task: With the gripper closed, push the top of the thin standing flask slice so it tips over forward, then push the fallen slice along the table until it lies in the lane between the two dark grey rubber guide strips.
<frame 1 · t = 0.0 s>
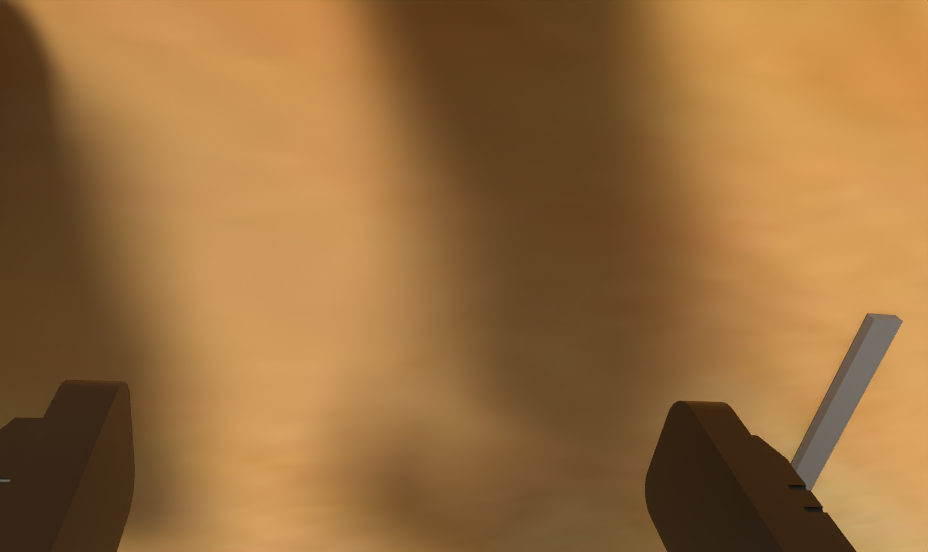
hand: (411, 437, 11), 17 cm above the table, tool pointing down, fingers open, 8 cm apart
guide strip 2: (814, 443, 38), on the table
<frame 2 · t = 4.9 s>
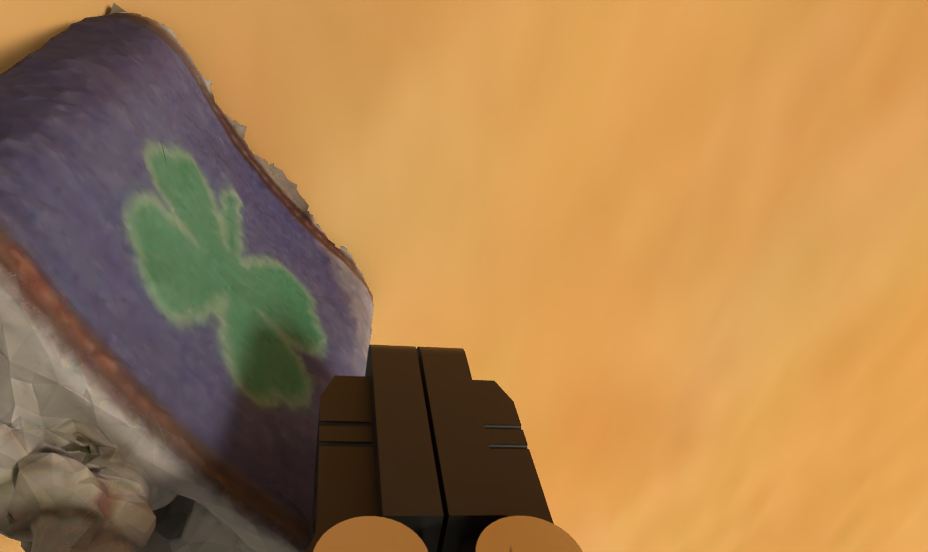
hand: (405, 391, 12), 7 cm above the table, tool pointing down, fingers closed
flask: (235, 189, 17), on the table
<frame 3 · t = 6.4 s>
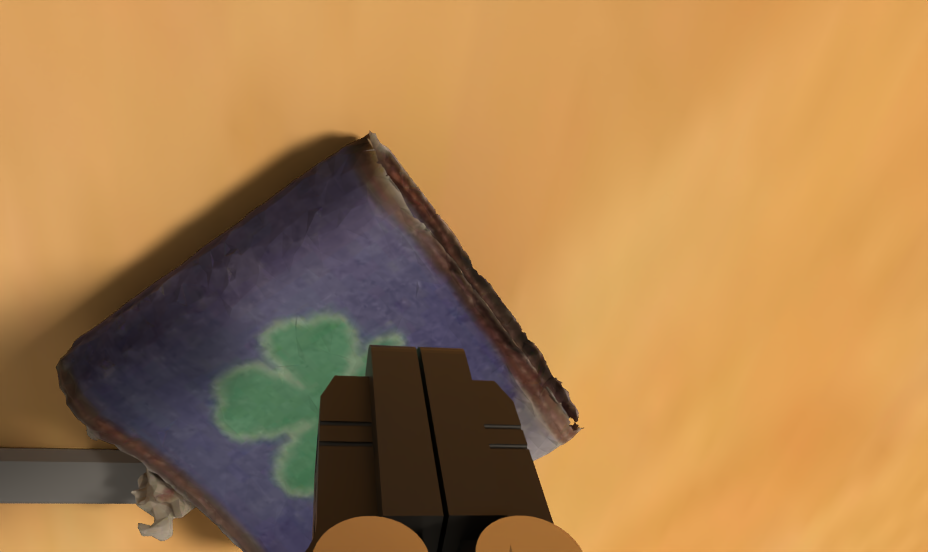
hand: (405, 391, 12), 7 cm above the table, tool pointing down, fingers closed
flask: (491, 281, 18), point 2 cm above the table, touching guide strip 1
guide strip 1: (91, 470, 20), on the table
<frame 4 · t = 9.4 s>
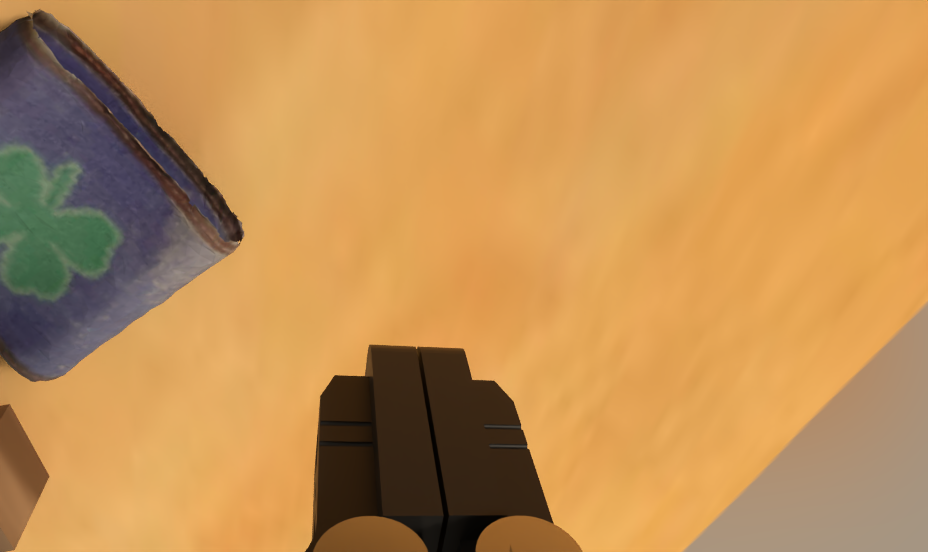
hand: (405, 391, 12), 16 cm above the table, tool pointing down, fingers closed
flask: (153, 127, 24), point 2 cm above the table, touching guide strip 1
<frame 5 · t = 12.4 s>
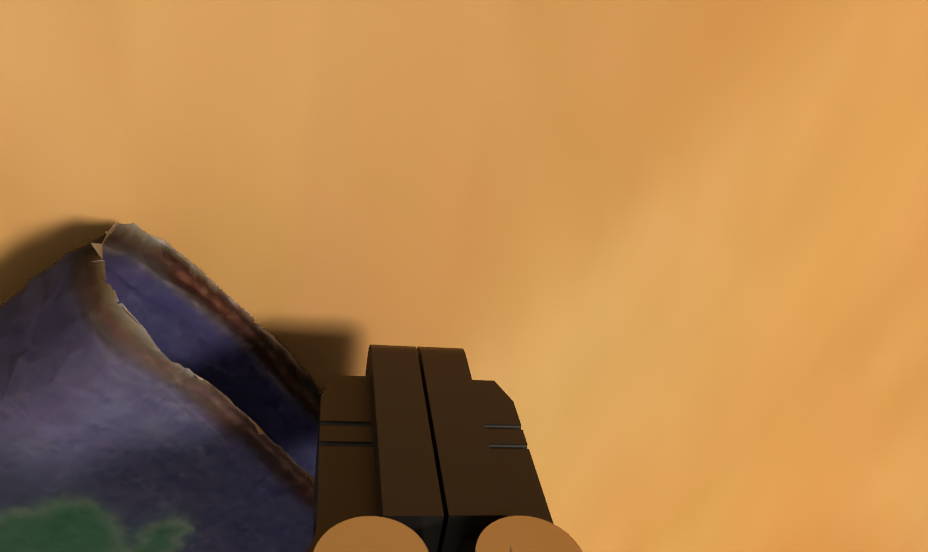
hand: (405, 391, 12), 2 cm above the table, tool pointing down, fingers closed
flask: (327, 424, 12), point 2 cm above the table, touching gripper
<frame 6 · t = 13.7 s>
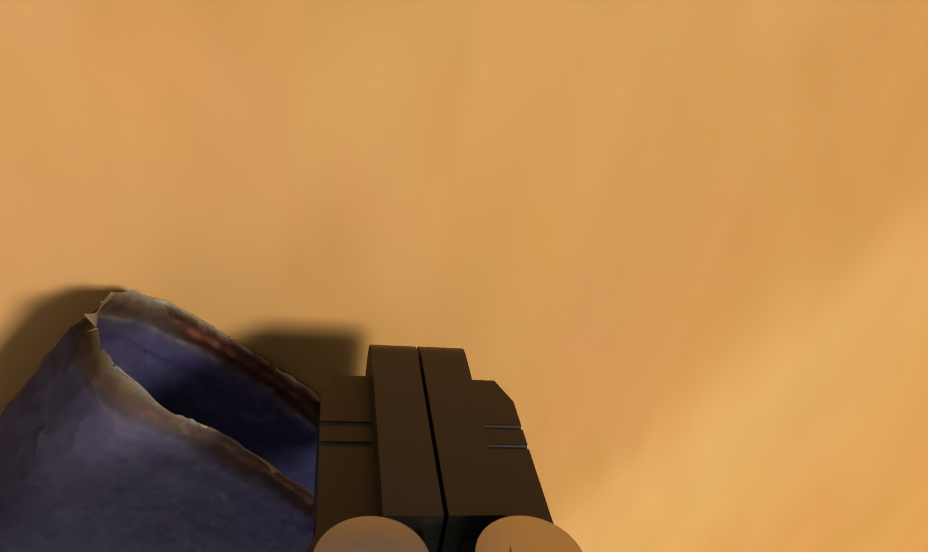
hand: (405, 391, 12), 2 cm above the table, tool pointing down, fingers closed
flask: (350, 455, 12), point 2 cm above the table, touching gripper, guide strip 1
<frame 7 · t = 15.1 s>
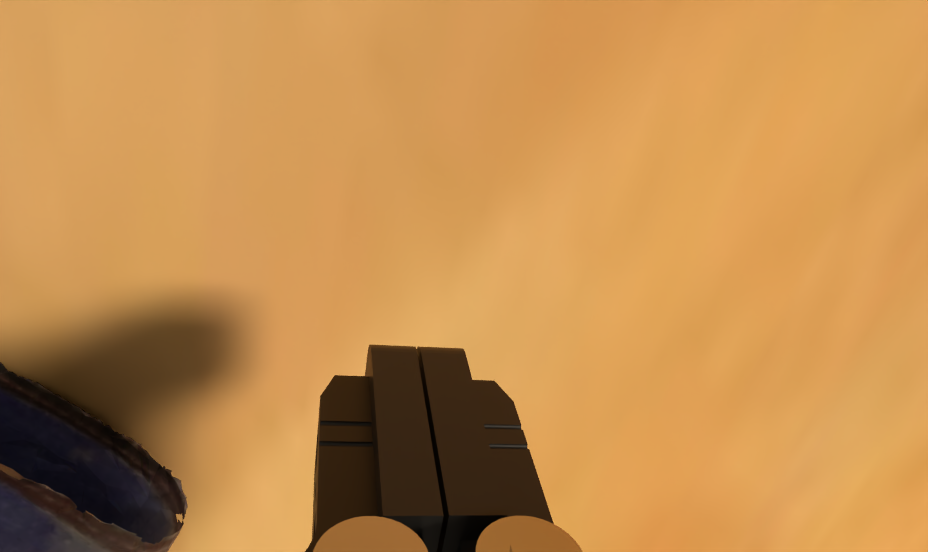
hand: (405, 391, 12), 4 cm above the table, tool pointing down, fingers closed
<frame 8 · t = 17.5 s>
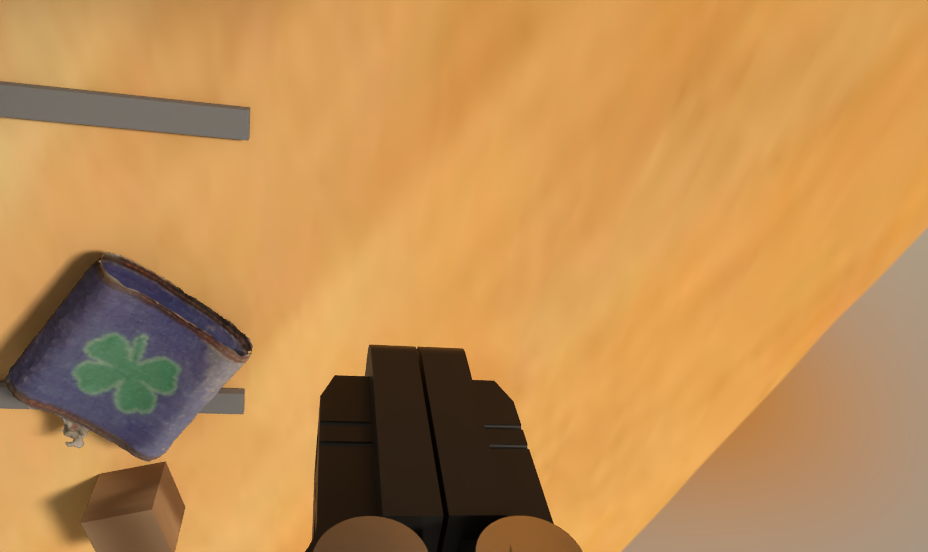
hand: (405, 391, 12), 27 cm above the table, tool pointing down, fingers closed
guide strip 2: (72, 104, 35), on the table
walnut cube: (143, 490, 47), on the table
flask: (183, 300, 39), point 2 cm above the table, touching guide strip 1
guide strip 1: (99, 394, 43), on the table
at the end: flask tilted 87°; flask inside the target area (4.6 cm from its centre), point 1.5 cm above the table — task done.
